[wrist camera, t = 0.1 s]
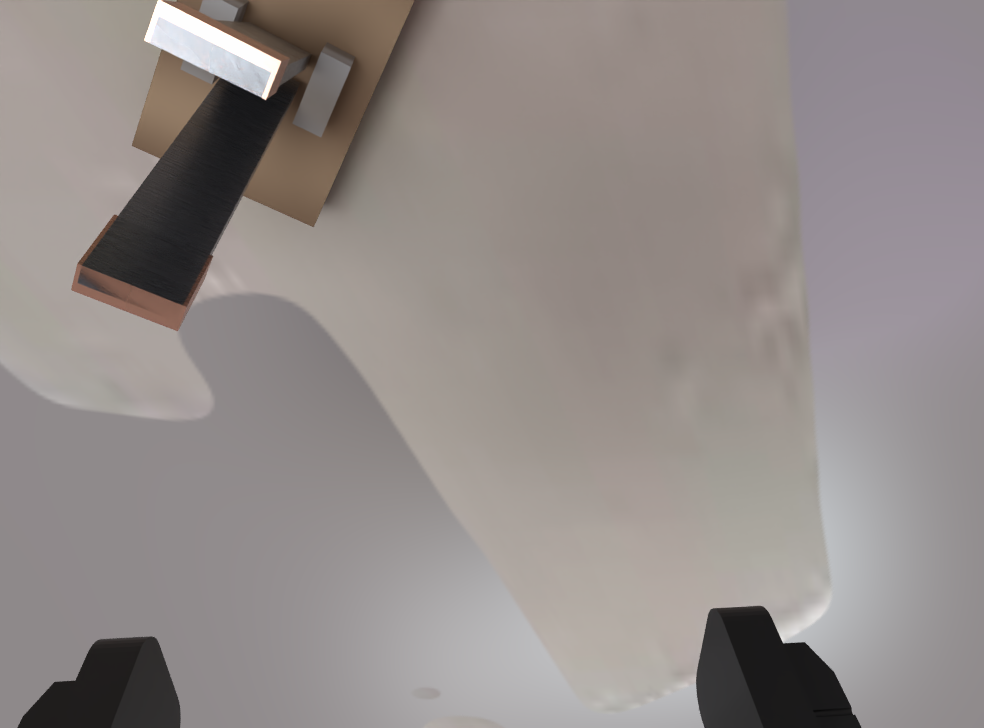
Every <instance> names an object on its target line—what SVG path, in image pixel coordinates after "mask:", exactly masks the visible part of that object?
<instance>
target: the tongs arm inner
mask: <svg viewBox="0 0 984 728" xmlns="http://www.w3.org/2000/svg"><path fill="white" fill-rule="evenodd" d="M145 41H147V42H149V43H151V44H153V45H155V46H157V47H159V48H161V49H163V50H165V51H167V52H169V53H171V54H173V55H175V56H177V57H179V58H181V59H183V60H186V61H188V62H190V63H192V64H194V65H196V66H198V67H200V68H202V69H204V70H206V71H208V72H210V73H212V74H214V75H216V76H218V77H220V78H222V79H224V80H226V81H228V82H231V83H233V84H235V85H237V86H239V87H241V88H243V89H245V90H247V91H249V92H251V93H253V94H255V95H257V96H259V97H261V98H263V99H265V100H266V99H268V98H269V97H271V96H272V95H273V94H275V93H276V92H277V90H278V87H279V86H280V85H282V84H283V83H285V82H286V81H288V80H289V79H291V78H292V77H294V76H295V75H297V74H299V73H300V72H302V71H303V70H305V69H306V67H307V64H308V62H309V60H310V57H311V55H312V54H310V53H308V52H306V51H304V50H302V49H300V48H299V47H297V46H295V45H293V44H291V43H289V42H287V41H285V40H283V39H281V38H279V37H277V36H275V35H273V34H271V33H269V32H268V31H266V30H264V29H262V28H260V27H258V26H256V25H254V24H252V23H250V22H237V21H224V20H214V19H212V18H210V17H208V16H207V15H205V14H203V13H201V12H199V11H197V10H195V9H193V8H191V7H189V6H187V5H185V4H183V3H178V2H172V1H165V0H158V2H157V5H156V8H155V11H154V14H153V17H152V20H151V23H150V26H149V28H148V31H147V34H146V37H145Z"/></svg>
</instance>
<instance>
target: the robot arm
mask: <svg viewBox="0 0 984 728" xmlns="http://www.w3.org/2000/svg"><path fill="white" fill-rule="evenodd" d="M696 687H697V698H698V704H699V710H700V714H701V717H702V721H703V724H704V727H705V728H861V726H860V724H859V722H858V720H857V718H856V716H855V715H853V714H852V710H851V705H850V703H849V702H848V699H847V697H846V695H845V693H844V691H843V689H842V687H841V685H840V683H839V681H838V679H837V677H836V675H835V673H834V672H833V671H832V670H831V669H830V668H829V667H828V666H827V665H826V663H825V662H824V661H822V659H821V658H819V656H818V655H817V654H816V653H815V652H814V651H813V650H812V649H811V648H810V647H809V646H808V645H807V644H806V643H805V642H802V643H784V644H783V642H782V640H781V638H780V636H779V633H778V631H777V629H776V627H775V625H774V622H773V620H772V618H771V616H770V614H769V612H768V611H767V610H766V609H765V608H764V607H763V606H750V607H732V608H713V609H711V610H710V612H709V614H708V618H707V624H706V629H705V634H704V639H703V644H702V649H701V654H700V659H699V664H698V669H697V677H696ZM18 728H180V705H179V700H178V697H177V694H176V691H175V688H174V685H173V682H172V679H171V677H170V674H169V671H168V668H167V665H166V662H165V660H164V657H163V654H162V651H161V648H160V645H159V643H158V641H157V639H156V638H155V637H133V638H117V639H100V640H98V641H96V642H95V643H94V644H93V645H92V647H91V648H90V650H89V652H88V654H87V656H86V658H85V660H84V663H83V665H82V667H81V669H80V672H79V674H78V676H77V678H76V681H63V682H54V683H53V684H52V685H51V687H50V688H49V689H48V690H47V691H46V692H45V693H44V694H43V695H42V696H41V697H40V699H39V700H38V701H37V702H36V703H35V704H34V705H33V706H32V707H31V708H30V709H29V711H28V712H27V713H26V714H25V715H24V716H23V718H22V720H21V722H20V724H19V726H18Z"/></svg>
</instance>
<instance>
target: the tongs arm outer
mask: <svg viewBox="0 0 984 728" xmlns="http://www.w3.org/2000/svg"><path fill="white" fill-rule="evenodd" d="M299 84H300V83H299V82H297V81H295V80H293V79H289V80H288V81H286V82H285V83H283V84H282V85H280V86H279V87H278V90H277V92H276V93H275V94H273V95H272V96H271V97H269V98H268V99H266V100H265V99H263V98H261V97H259V96H257V95H255V94H253V93H251V92H249V91H247V90H245V89H243V88H241V87H239V86H237V85H235V84H233V83H231V82H228V81H226V80H224V79H222V78H220V79H219V80H218V82H217V83H216V84H215V86H214V87H213V88H212V90H211V91H210V92H209V94H208V95H207V96H206V98H205V99H204V101H203V102H202V103H201V105H200V106H199V107H198V109H197V110H196V111H195V113H194V114H193V115H192V117H191V118H190V119H189V121H188V122H187V124H186V125H185V126H184V128H183V129H182V130H181V132H180V133H179V134H178V136H177V137H176V138H175V140H174V141H173V143H172V144H171V145H170V147H169V148H168V149H167V151H166V152H165V153H164V155H163V156H162V157H161V159H160V160H159V161H158V163H157V164H156V166H155V167H154V168H153V170H152V171H151V172H150V174H149V175H148V176H147V178H146V179H145V180H144V182H143V183H142V184H141V186H140V187H139V189H138V190H137V191H136V193H135V194H134V195H133V197H132V198H131V199H130V201H129V202H128V203H127V205H126V206H125V208H124V209H123V210H122V212H121V213H120V214H119V216H117V215H114V216H113V217H112V218H111V220H110V221H109V222H108V224H107V225H106V226H105V228H104V229H103V230H102V232H101V233H100V234H99V236H98V237H97V238H96V240H95V241H94V242H93V244H92V245H91V246H90V248H89V249H88V250H87V252H86V253H85V254H84V256H83V257H82V258H81V260H80V261H79V262H78V264H77V268H76V272H75V276H74V281H73V285H72V289H71V290H72V291H75V292H77V293H80V294H83V295H85V296H88V297H90V298H93V299H96V300H98V301H101V302H103V303H106V304H109V305H111V306H114V307H116V308H119V309H122V310H124V311H127V312H129V313H132V314H134V315H137V316H140V317H142V318H145V319H147V320H150V321H153V322H155V323H158V324H160V325H163V326H166V327H168V328H171V329H173V330H176V331H178V330H179V328H180V326H181V324H182V322H183V320H184V318H185V316H186V314H187V312H188V311H189V309H190V307H191V305H192V303H193V301H194V299H195V297H196V295H197V293H198V291H199V289H200V287H201V285H202V283H203V281H204V279H205V277H206V274H207V271H208V269H209V266H210V263H211V260H212V258H213V256H212V254H213V252H214V250H215V248H216V246H217V244H218V242H219V240H220V238H221V237H222V235H223V233H224V231H225V229H226V227H227V225H228V223H229V221H230V219H231V217H232V215H233V214H234V212H235V210H236V208H237V206H238V204H239V202H240V200H241V198H242V196H243V194H244V193H245V191H246V189H247V187H248V185H249V183H250V181H251V179H252V177H253V175H254V173H255V172H256V170H257V168H258V166H259V164H260V162H261V160H262V158H263V156H264V154H265V152H266V150H267V149H268V147H269V145H270V143H271V141H272V139H273V137H274V135H275V133H276V131H277V129H278V128H279V126H280V124H281V122H282V120H283V118H284V116H285V114H286V112H287V110H288V108H289V107H290V105H291V103H292V101H293V99H294V97H295V95H296V92H297V90H298V87H299Z"/></svg>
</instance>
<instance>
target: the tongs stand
mask: <svg viewBox="0 0 984 728" xmlns="http://www.w3.org/2000/svg"><path fill="white" fill-rule="evenodd" d="M177 2H178V3H183V4H185V5H187V6H189V7H191V8H193V9H195V10H197V11H199V12H201V13H203V14H205V15H207V16H208V17H210V18H212V19H214V20H224V21H237V22H250V23H252V24H254V25H256V26H258V27H260V28H262V29H264V30H266V31H268V32H269V33H271V34H273V35H275V36H277V37H279V38H281V39H283V40H285V41H287V42H289V43H291V44H293V45H295V46H297V47H299V48H300V49H302V50H304V51H306V52H308V53H310V54H312V55H311V57H310V60H309V62H308V64H307V67H306V69H305V70H303V71H302V72H300V73H299V74H297V75H295V76H294V77H292V78H291V79H293V80H295V81H297V82H299V83H300V84H299V87H298V90H297V92H296V95H295V97H294V99H293V101H292V103H291V105H290V107H289V108H288V110H287V112H286V114H285V116H284V118H283V120H282V122H281V124H280V126H279V128H278V129H277V131H276V133H275V135H274V137H273V139H272V141H271V143H270V145H269V147H268V149H267V150H266V152H265V154H264V156H263V158H262V160H261V162H260V164H259V166H258V168H257V170H256V172H255V173H254V175H253V177H252V179H251V181H250V183H249V185H248V187H247V189H246V191H245V193H244V194H243V196H245V197H247V198H250V199H252V200H254V201H256V202H259V203H261V204H263V205H265V206H268V207H270V208H272V209H274V210H276V211H279V212H281V213H283V214H285V215H288V216H290V217H292V218H294V219H297V220H299V221H301V222H303V223H305V224H308V225H310V226H312V227H314V225H315V223H316V220H317V218H318V216H319V214H320V211H321V209H322V207H323V205H324V202H325V200H326V198H327V196H328V193H329V191H330V189H331V187H332V184H333V182H334V180H335V178H336V175H337V173H338V171H339V169H340V166H341V164H342V162H343V160H344V158H345V155H346V153H347V151H348V149H349V146H350V144H351V142H352V140H353V137H354V135H355V133H356V131H357V128H358V126H359V124H360V122H361V119H362V117H363V115H364V113H365V110H366V108H367V106H368V104H369V101H370V99H371V97H372V95H373V92H374V90H375V88H376V86H377V83H378V81H379V79H380V77H381V74H382V72H383V70H384V68H385V65H386V63H387V61H388V59H389V56H390V54H391V52H392V50H393V47H394V45H395V43H396V41H397V38H398V36H399V34H400V32H401V29H402V27H403V25H404V23H405V20H406V18H407V16H408V14H409V11H410V9H411V7H412V5H413V3H414V0H177ZM219 79H220V77H218V76H216V75H214V74H212V73H210V72H208V71H206V70H204V69H202V68H200V67H198V66H196V65H194V64H192V63H190V62H188V61H186V60H183V59H181V58H179V57H177V56H175V55H173V54H171V53H169V52H167V51H165V50H163V49H162V50H161V53H160V56H159V60H158V63H157V66H156V69H155V73H154V76H153V79H152V82H151V85H150V89H149V92H148V95H147V98H146V101H145V105H144V108H143V111H142V114H141V118H140V121H139V124H138V127H137V130H136V134H135V137H134V140H133V143H132V146H134V147H136V148H138V149H140V150H142V151H145V152H147V153H149V154H151V155H154V156H156V157H158V158H160V159H161V157H162V156H163V155H164V153H165V152H166V151H167V149H168V148H169V147H170V145H171V144H172V143H173V141H174V140H175V138H176V137H177V136H178V134H179V133H180V132H181V130H182V129H183V128H184V126H185V125H186V124H187V122H188V121H189V119H190V118H191V117H192V115H193V114H194V113H195V111H196V110H197V109H198V107H199V106H200V105H201V103H202V102H203V101H204V99H205V98H206V96H207V95H208V94H209V92H210V91H211V90H212V88H213V87H214V86H215V84H216V83H217V82H218V80H219Z"/></svg>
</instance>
